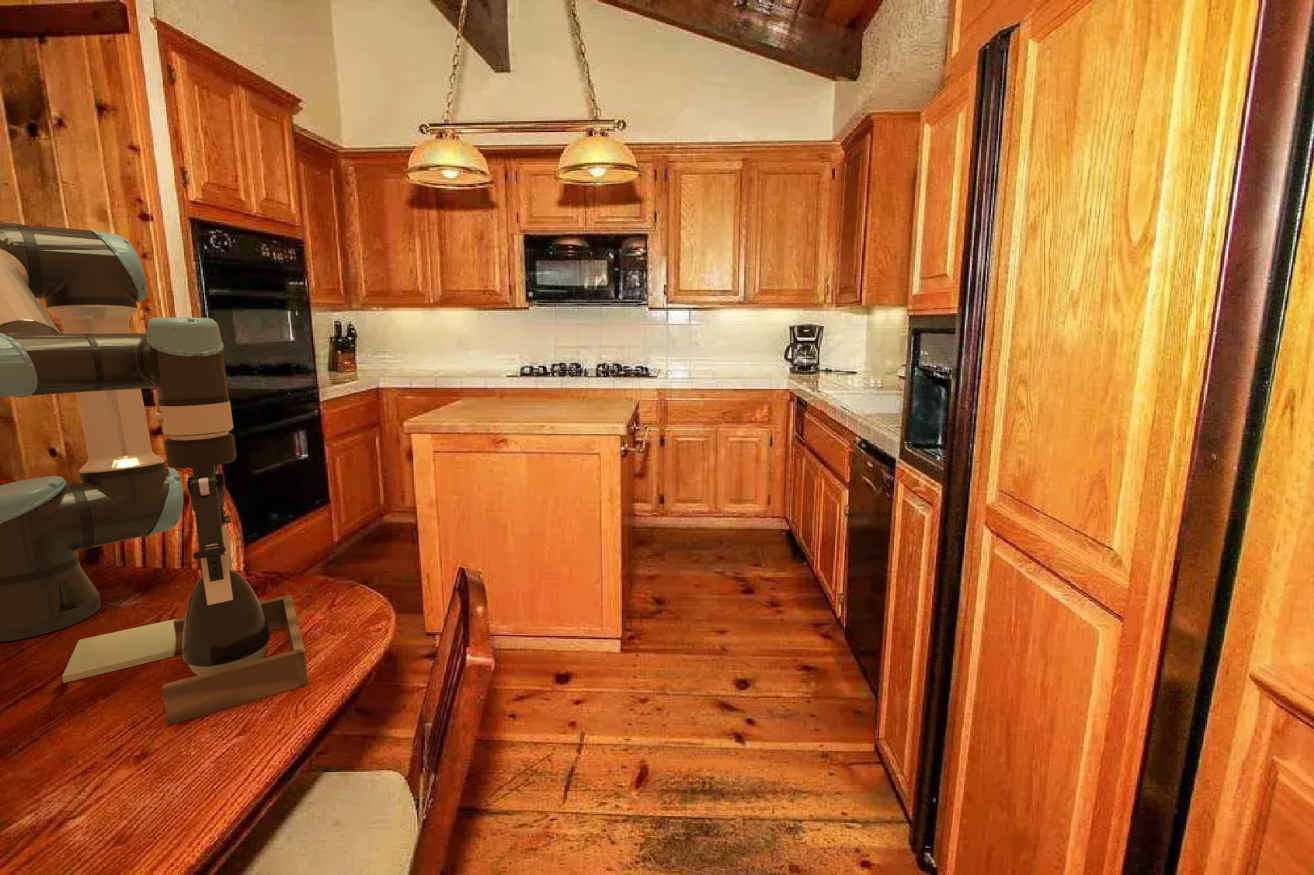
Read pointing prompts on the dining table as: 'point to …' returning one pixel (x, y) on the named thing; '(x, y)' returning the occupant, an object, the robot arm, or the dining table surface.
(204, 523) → the robot arm
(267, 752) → the dining table surface
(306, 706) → the dining table surface
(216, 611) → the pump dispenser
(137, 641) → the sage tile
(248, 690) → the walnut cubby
